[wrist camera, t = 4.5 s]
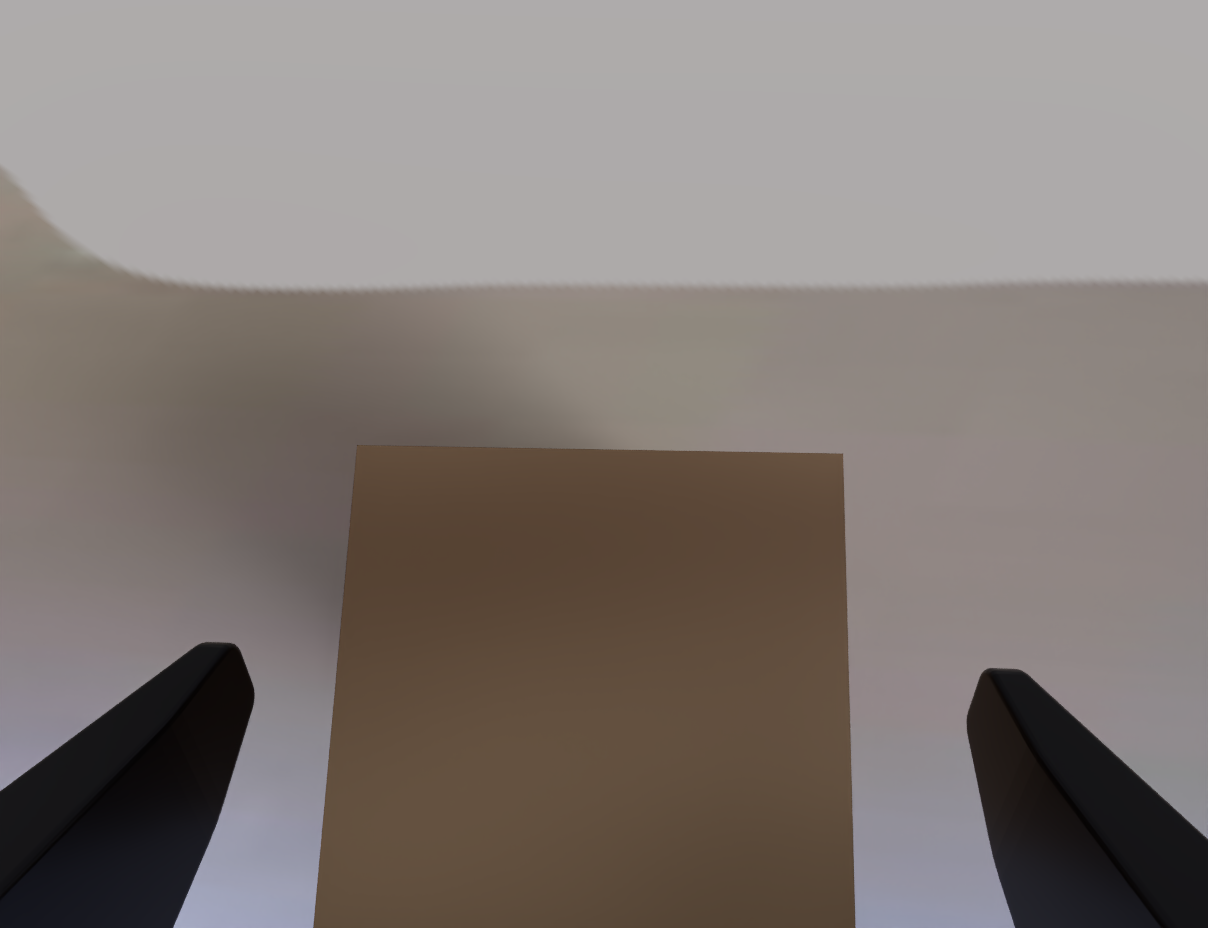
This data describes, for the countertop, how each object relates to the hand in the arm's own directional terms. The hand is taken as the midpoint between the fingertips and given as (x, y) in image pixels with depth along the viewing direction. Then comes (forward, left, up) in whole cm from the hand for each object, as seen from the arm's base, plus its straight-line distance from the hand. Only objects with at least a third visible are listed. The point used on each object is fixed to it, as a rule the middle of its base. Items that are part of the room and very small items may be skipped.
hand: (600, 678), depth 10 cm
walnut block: (0, 0, -8) cm, 8 cm away
